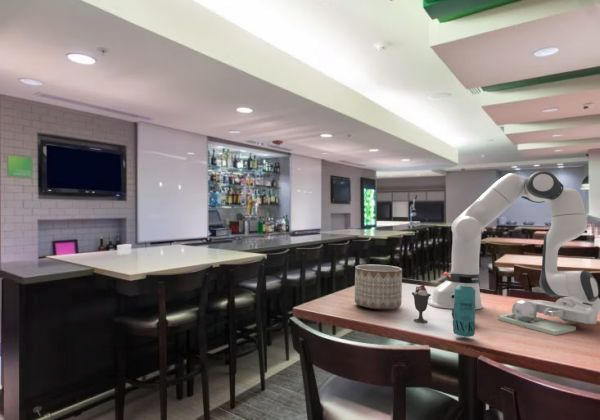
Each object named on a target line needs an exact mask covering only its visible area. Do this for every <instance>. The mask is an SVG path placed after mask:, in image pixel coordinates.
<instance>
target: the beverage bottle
mask: <svg viewBox="0 0 600 420" xmlns="http://www.w3.org/2000/svg"><path fill="white" fill-rule="evenodd" d="M458 282H461V283H472V276H468V275H459V278H458ZM475 292H476V291H475V289H474V288H473V287H471V286H466V285H458V286H457V287H455V288H454V306H453V307H454V319H453V318H452V332H453V334H454V335H457V336H460V337H464V338H469V337H471V338H472V337H474V336H475V334H476V333H475V332H476V325H475V324H476V310H475V306H476V305H475Z"/></svg>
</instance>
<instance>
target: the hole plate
mask: <svg viewBox="0 0 600 420" xmlns="http://www.w3.org/2000/svg"><path fill="white" fill-rule="evenodd" d="M497 319H498V321H502V322H506V323H510V324H513V325H516V326H520V327H524V328H527V329H531V330H534V331H538V332H542V333H544V334H547V335H552V336H558V335H563V334H566V333H572V332H575V331H577V326H575V325H571V324H567V323H563V322H559V321H556V320H551V319H546V318H542V317H539V316H536V318H535V319H534V320H533V321H534V322H533V321H532V322H528V323H526V322H522V321H519V320H517V319H516V318H515V317H514V316H513V314H512V313H508V314H503V315H498V316H497Z"/></svg>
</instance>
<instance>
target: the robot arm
mask: <svg viewBox="0 0 600 420" xmlns="http://www.w3.org/2000/svg"><path fill="white" fill-rule="evenodd" d="M520 198H522V199H525V200H527V201H529V202H532V203H536V204H537V203H538V204H540V203H544V202H545V203H546V204H547V205H548V207H549V209H550V215H551V223H550V224H551V225H550V228H549V230H548V231H547V232H545V233H544V237H543V244H542V245H543V246H542V258H541V259H542V260H541V261H542V262H541V272H540V275H539V276H540V277H539V281H538V282H539V288H540V289H541V290H542V292H543V293H545V294H546V295H548V296H549V297H560V298H559V299H557V300H556V301H555V302H553V301H548V300H543V299H542V300H541V299H537V300H536V299H533V300H529V301H528V302H530V303H532V304H533V305H534V306H535V308H536V310H537V313H539V314H542V315H544V316H548V317H551V318H554V317H555V318H559V319H561V320H562V321H564V322H567V323H574V322H575V323H580V324H585V325H597V323H598V315H599V314H600V297H599V296H600V286H599V283H598V280H597V279H596V277H594V276H593V274H592V273H590V271H587V270H558V256H559V255H558V253H559V250H560V248H561V247H562V246H563V245H565V244H566V243H568V242H570V241H573V240H575V239H578V238H579V237H580V236H582V235H583V234H584V233H585V231H586V230H587V227H588V219H587V213H586V208H585V205H584V201H583V198H582V196H581V193H580V192H579V191H578V190H577V189H574V188H571V187H570V188H569V187H565V186H564V184H563V183H562V182H561V180H559V179H558V178H557V176H556V175H554V174H553V173H552V172H550V171H547V170H540V171H536V172H534V173H532V174H530V176H529V177H527V178H525V177H522V176H521V175H519V174H517V173H513V172H511V173H507V174H505V175H504V176H502V177H501V178H499V179H498V180H496V181H495V182H494V183H493V184H492V185H491V186H490V187H488V189H486V191H484V192H483V193H482V194H481V195H480V196H479V197H478V198H477V199H476V200H475V201H473V202H472V204H470V205H469V206H468V207H466V209H465V210H464V211H463V212H461V213H460V214H459V216H457V217H455V219H454V220H453V221H452V224H451V228H450V229H451V232H452V241H451V242H452V244H451V270H450V271H449V272H447V271H444V272H443V276H444V277H446V280H445V281H444V282H442V283H441V284H438V285H437V286H436V287H434V289H433V291H432V295H431V296H432V297H429V299H428V304H427V305H429V306H431V307H434V308H437V309H438V308H439V309H451V310H453V308H454V307H453V306H454V288H455V287H457V286H458V285H466V286H471V287H473V288H474V289H475V291H476V292H475V305H476V306H475V311H476V310H479V309H482V308H483V303H482V297H481V293H480V292H481V291H480V287H481V274H480V253H481V252H480V251H481V242H482V231H483V230H485V228H486V227H487V226H488V225H490V224H491V223H493V222H494V221H495V220H496V219H497V218H499V216H501V215H502V214H503V213H504V212H506V210H507V209H508V208H509V207H511V205H513V204H514V203H515V202H516V201H517V200H518V199H520ZM459 275H468V276H472V283H461V282H458V278H459ZM562 296H563V297H562Z"/></svg>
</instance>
